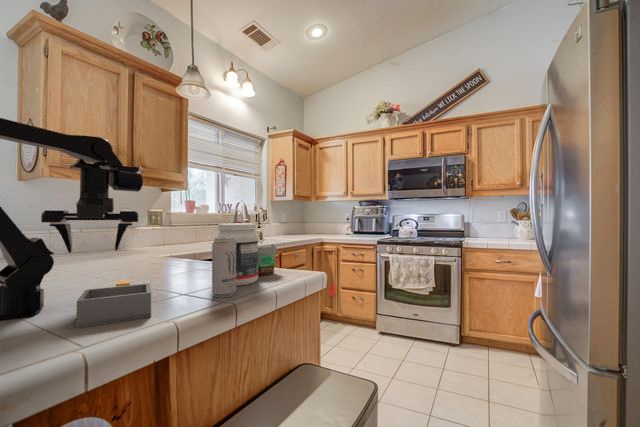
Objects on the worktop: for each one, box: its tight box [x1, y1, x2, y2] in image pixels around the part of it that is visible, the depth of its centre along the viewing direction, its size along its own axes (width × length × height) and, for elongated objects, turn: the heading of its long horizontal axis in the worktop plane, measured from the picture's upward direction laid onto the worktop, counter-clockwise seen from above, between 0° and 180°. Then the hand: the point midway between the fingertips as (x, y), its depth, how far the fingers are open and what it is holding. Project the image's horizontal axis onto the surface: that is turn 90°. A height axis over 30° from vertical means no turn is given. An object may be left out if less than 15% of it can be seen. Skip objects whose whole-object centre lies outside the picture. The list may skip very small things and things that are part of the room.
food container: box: [258, 244, 278, 277], centre depth 106 cm, size 12×6×10 cm, turn 143°
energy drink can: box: [211, 237, 237, 298], centre depth 79 cm, size 6×6×15 cm
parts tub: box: [76, 282, 152, 329], centre depth 63 cm, size 12×10×5 cm
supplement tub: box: [215, 222, 259, 287], centre depth 94 cm, size 13×13×18 cm
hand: (93, 251), depth 74 cm, fingers open, 9 cm apart
